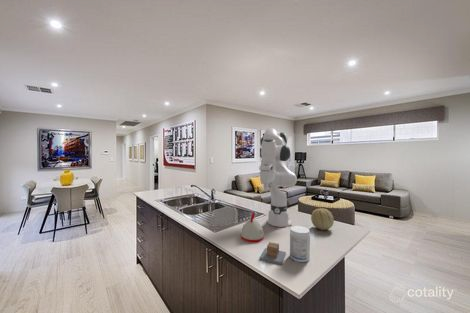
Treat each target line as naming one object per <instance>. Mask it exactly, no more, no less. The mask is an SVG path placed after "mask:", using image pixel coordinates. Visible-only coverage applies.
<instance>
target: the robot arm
mask: <svg viewBox="0 0 470 313" xmlns="http://www.w3.org/2000/svg"><path fill="white" fill-rule="evenodd" d="M288 139H289V138H288V135H287V134H286V133H285V132H280V133H279V132H278V131H277V130H276V129H275V128H273V127H270V128H267V129H266V130H265V131H264V133H263V136H262V137H261V138H260V140H259V144H260V146H261V147H260V148H259V157H260V158H261V159H260V165H259V166H258V167H259V177H260V180H259V181H260V183H261V184H262V185H263V188H264V189H263V190H264V192H268V191H269V193H270V197H271V198H270V199H271V201H270V202H271V204H270V210H268V214H267V215H268V218H267V219H266V220H265V222H266V223H268V225H270V226H274V227H278V228H279V227H280V228H281V227H282V228H283V227H290V226H291V227H292V219H291V218H290V217H289V212H288V205H287V194H286V192H284V191H282V190H280V189H279V188H280V187H285V188H286V187H287V188H289V187H294V186H295V185H296V184H297V181H298V177H297V175H296V173H294V172H292V171H291V170H290V169H289V168H288V167H287V166H286V163H285V162H286V161H288V160H289V159H290V157H291V148H290V147H289V146H288V145H287V144H288ZM261 184H260V185H261Z"/></svg>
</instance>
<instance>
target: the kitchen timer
mask: <svg viewBox="0 0 470 313" xmlns="http://www.w3.org/2000/svg"><path fill="white" fill-rule="evenodd" d="M255 215H256V214H255V213H254V212H252V213H251V216H250V218H249V219H248V220H247V221H246V222H245V223H244V224H243V225H242V227H241V233H240V237H241V239H242V240H243V241H245V242H247V243H260V242H263V240H264V228H263V226H262V224H261V223H260V222H259V221H258V220H257V219H256V218H255Z"/></svg>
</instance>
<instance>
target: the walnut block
mask: <svg viewBox="0 0 470 313" xmlns="http://www.w3.org/2000/svg"><path fill="white" fill-rule="evenodd" d="M266 248H267V256H270V257H275V258H277V257H278V254H279V251H280V243H278V242H277V243H276V242H271V241H269V242H268V243H267V245H266Z"/></svg>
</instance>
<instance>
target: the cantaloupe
mask: <svg viewBox="0 0 470 313" xmlns="http://www.w3.org/2000/svg"><path fill="white" fill-rule="evenodd" d="M334 219H335V218H334V216H333V214H332V212H331V211H329V209H327V208H321V207H320V206H318V207H317V208H316V209H314V210H313V211H312V212H311V216H310V220H311V223H312V225H313V226H314V227H315V228H316V229H318V230H322V231H326V230H329V229H330V228H332V227H333V226H334V221H335V220H334Z"/></svg>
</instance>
